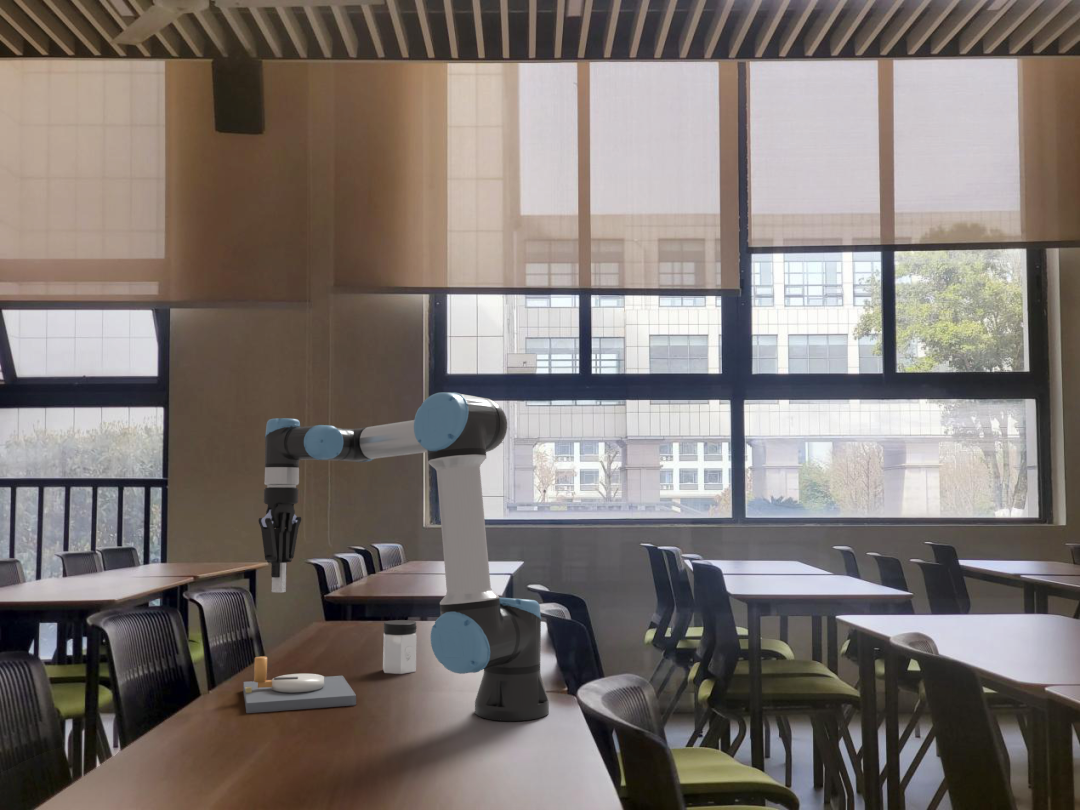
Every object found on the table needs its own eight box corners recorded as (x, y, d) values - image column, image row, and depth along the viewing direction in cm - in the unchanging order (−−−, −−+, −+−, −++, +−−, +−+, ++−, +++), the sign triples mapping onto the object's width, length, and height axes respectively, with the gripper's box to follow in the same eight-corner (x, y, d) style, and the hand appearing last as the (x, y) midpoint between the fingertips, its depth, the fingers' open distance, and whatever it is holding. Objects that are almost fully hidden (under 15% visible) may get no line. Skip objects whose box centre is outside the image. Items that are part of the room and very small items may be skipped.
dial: (325, 681, 205) (326, 651, 205) (322, 691, 194) (323, 660, 195) (257, 683, 202) (258, 653, 203) (250, 693, 192) (251, 662, 192)
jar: (393, 675, 223) (394, 625, 224) (375, 670, 229) (376, 622, 230) (423, 670, 229) (424, 622, 230) (404, 666, 235) (405, 618, 236)
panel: (356, 705, 192) (356, 691, 192) (246, 713, 184) (246, 699, 185) (342, 684, 212) (342, 672, 213) (243, 690, 205) (243, 678, 205)
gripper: (284, 486, 214) (282, 588, 212) (249, 486, 202) (245, 594, 200) (312, 486, 211) (309, 589, 209) (277, 486, 199) (274, 595, 197)
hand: (278, 591), depth 204 cm, fingers closed
